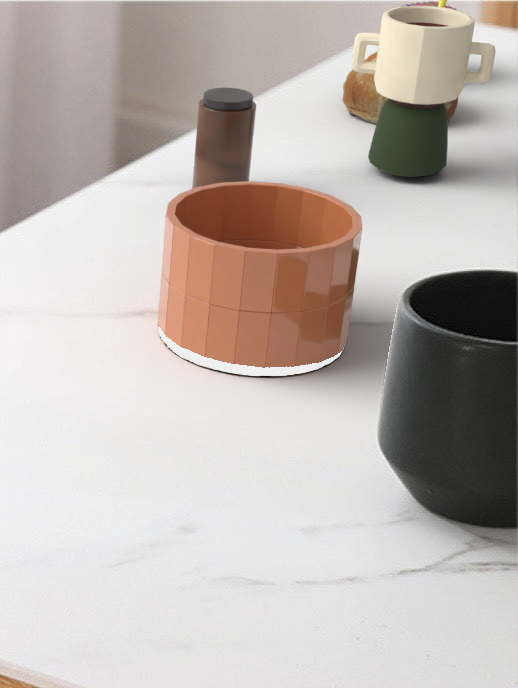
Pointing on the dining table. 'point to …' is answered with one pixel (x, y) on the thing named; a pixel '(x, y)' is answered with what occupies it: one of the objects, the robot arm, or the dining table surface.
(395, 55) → the character mug
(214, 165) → the spice shaker
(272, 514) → the dining table surface
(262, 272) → the pot
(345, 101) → the bread roll
